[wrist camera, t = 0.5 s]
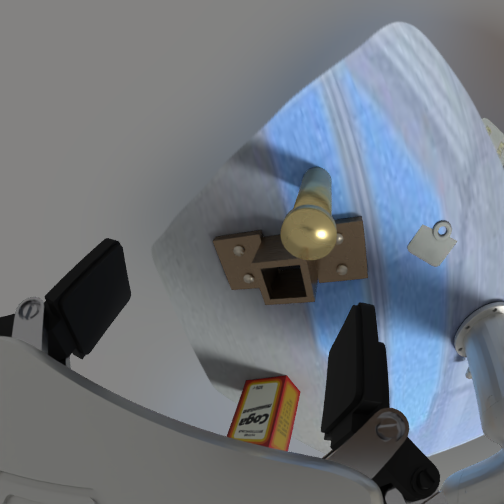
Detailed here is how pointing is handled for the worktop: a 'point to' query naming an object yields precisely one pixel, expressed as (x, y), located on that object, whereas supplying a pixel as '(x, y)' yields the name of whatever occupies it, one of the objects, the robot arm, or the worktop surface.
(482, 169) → the worktop surface
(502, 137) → the mounting bracket
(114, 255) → the robot arm
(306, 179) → the pin
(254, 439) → the baking soda box
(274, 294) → the hinge base
